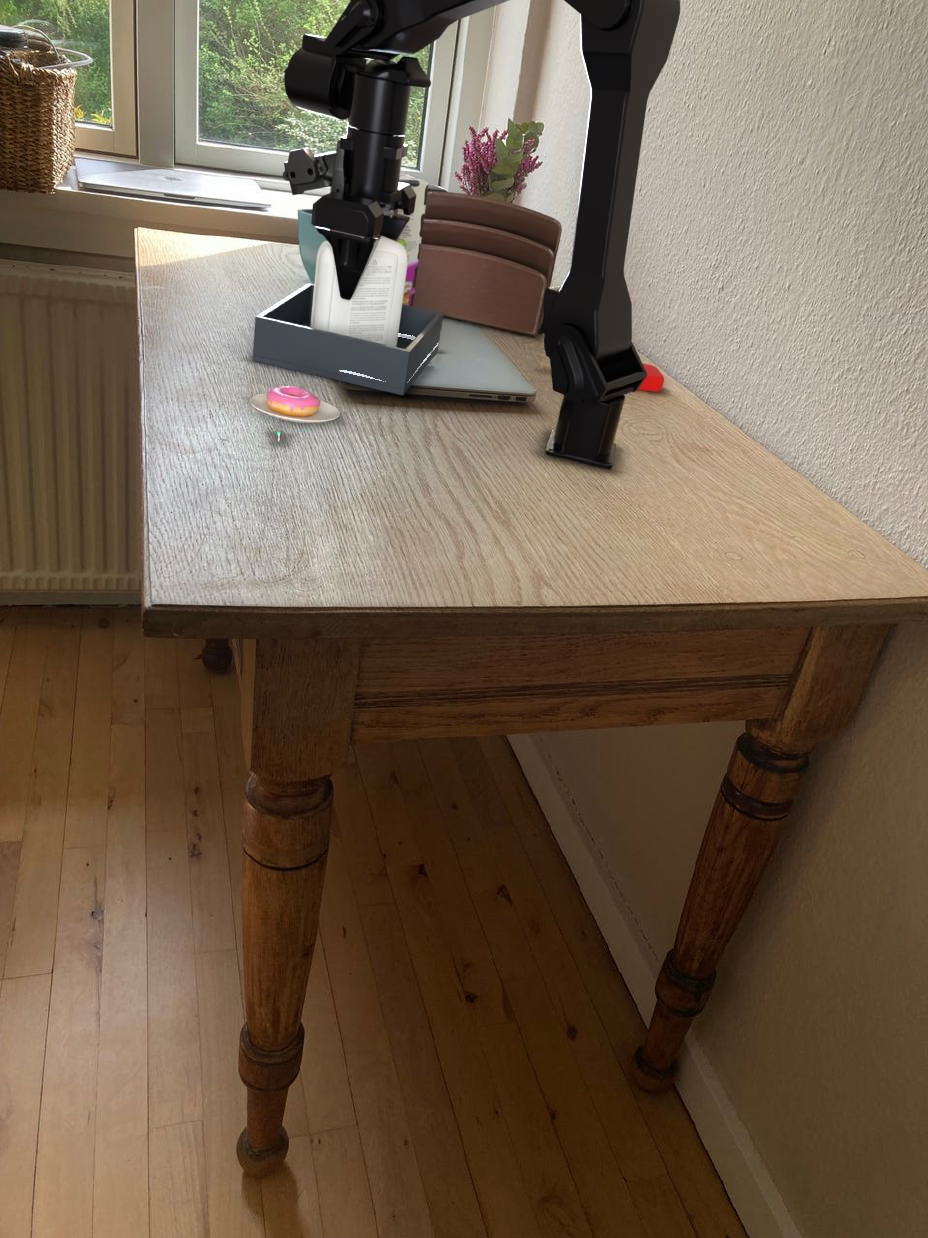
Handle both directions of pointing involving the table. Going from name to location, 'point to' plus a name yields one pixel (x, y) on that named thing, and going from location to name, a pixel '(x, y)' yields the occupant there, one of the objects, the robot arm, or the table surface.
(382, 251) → the photo printer
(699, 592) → the table surface
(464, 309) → the letter holder
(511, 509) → the table surface
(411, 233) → the candy bar box
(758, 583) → the table surface
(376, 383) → the tote
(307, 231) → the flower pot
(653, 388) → the popsicle
